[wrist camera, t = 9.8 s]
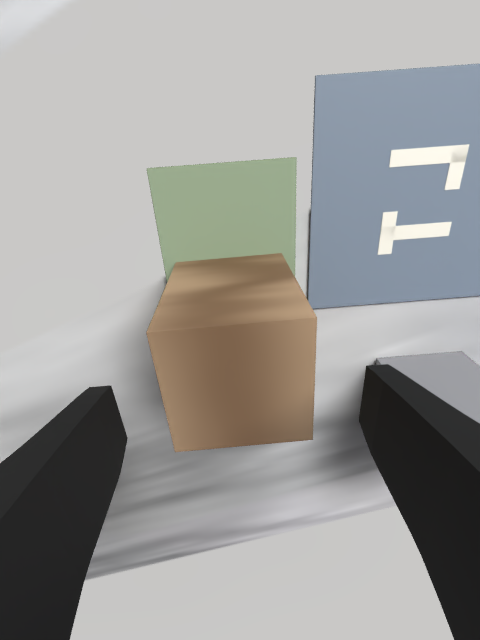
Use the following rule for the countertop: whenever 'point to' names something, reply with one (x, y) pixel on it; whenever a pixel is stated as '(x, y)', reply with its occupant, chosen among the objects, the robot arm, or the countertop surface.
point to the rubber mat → (225, 210)
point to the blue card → (395, 186)
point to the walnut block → (235, 353)
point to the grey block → (444, 377)
